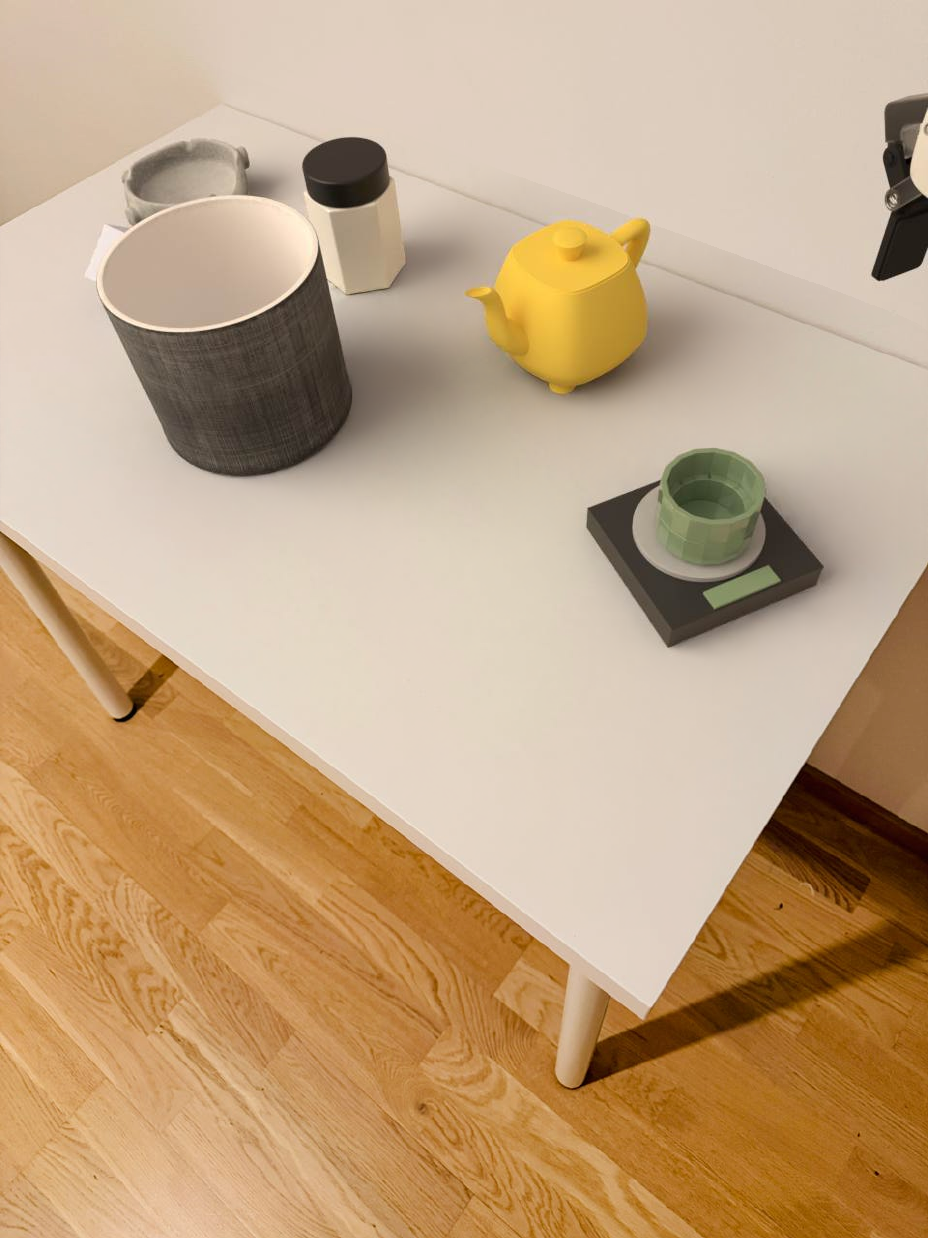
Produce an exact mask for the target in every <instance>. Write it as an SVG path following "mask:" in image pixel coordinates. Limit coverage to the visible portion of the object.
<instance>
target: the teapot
mask: <svg viewBox="0 0 928 1238" xmlns="http://www.w3.org/2000/svg"><path fill="white" fill-rule="evenodd" d="M650 235H651V224H650V222H649V221H648V220H647V219H646V218H643V217H637V218H632V219H631V220H629V221H627V222H626V223H624V224H622V225H621V226H619V227H618V228H617V229H615V230H614V231H613V232H611V234H608V233H606V232H604V231H603V230H601V229H599V228H597V227H595V226H594V225H593V226H592V225H590V224H589V223H585V222H582V221H578V220H572V219H564V220H561V221H557V222H554V223H551V224H549V225H547V226H544V227H542V228H540V229H538V230H536V231H533V233H530V234H529V235H527V236H525V237H524V238H522V239H520V240H519V241H518V242H516V243H515V244H513V246H511V249H510V250H509V251H508V253H507V255H506V258H505V259H504V261H503V264H502V266H501V268H500V270H499V272H498V274H497V277H496V280H495V282H494V286H493V288H492V287H489V286H475V287H472V288H469V289H467V290H466V291H465V292H464V294H465V295H466V297H468V298H471V299H474V300H478V301H480V302H481V304H482V305H483V310H484V317H485V319H484V320H485V326H486V330H487V333H488V335H489V337H490V339H491V341H492V342H493V343H494V344H495V345H496V347H498V348H499V349H500V350H501V351H503V352H505V353H506V354H508V356H509V357H510V358H511V359H512V360H513V361H514V362H515V363H516V364H517V365H518V366H519V367H521V368H522V369H523V370H525V371H526V372H528V373H530V375H533V376H535V377H537V378H538V379H540V380H542V381H545V382H547V383H548V387H549V390H550V391H552V392H553V393H555V394H558V395H566V394H569V393H571V392H573V391H574V390H575V388H576V387H577V386H581V385H584V384H586V383H589V382H592V381H593V380H596V379H598V378H600V377H601V376H603V375H605V374H608V372H610V371H612V370H613V369H615V368H616V367H618V366H619V365H621V364H622V363H623V362H625V361H626V360H627V359H628V358H629V357H630V356H631V355H632V354H633V353H635V352H636V351H637V350H638V348H639V347H640V346H641V344H642V343H643V342H644V340H645V337H646V335H647V330H648V309H647V307H648V306H647V301H646V296H645V292H644V289H643V286H642V283H641V279H640V277H639V275H638V272H637V267H638V266H639V264H640V261H641V259H642V257H643V255H644V253H645V251H646V249H647V245H648V242H649V240H650V239H649V238H650ZM625 245H626V246H625ZM624 246H625V248H624Z"/></svg>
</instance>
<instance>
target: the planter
mask: <svg viewBox="0 0 928 1238" xmlns="http://www.w3.org/2000/svg"><path fill="white" fill-rule="evenodd" d="M129 228H130V229H129V230H128V231H126V232H125V233H124V234H123V235H122V236H120V237H119V238H118V239H117V240H116V241H115V242H114V243H113V245H112V246H111V247H110V248H109V250H108V251H107V252H106V254H105V255H104V257H103V259H102V261H101V263H100V266H99V268H98V272H97V278H96V282H95V283H96V285H95V286H96V291H97V295H98V297H99V299H100V301H101V303H102V306H103V308H104V310H105V312H106V314H107V317H108V319H109V320H110V322H111V324H112V327H113V329H114V331H115V332H116V333H115V334H116V335H117V337H118V339H119V341H120V343H121V345H122V347H123V349H124V352H125V353H126V356H127V358H128V360H129V361H130V364H131V365H132V368H133V370H134V372H135V374H136V376H137V378H138V380H139V382H140V385H141V387H142V389H143V390H144V393H145V394H146V396H147V398H148V401H149V403H150V404H151V406H152V409H153V410H154V413H155V414H156V417H157V420H158V421H159V423H160V425H161V428H162V430H163V433H164V435H165V437H166V440H167V442H168V443H169V445H170V447H171V449H173V450H174V451H175V453H176V454H177V455H178V456H179V457H180V458H182V459H183V460H184V461H185V462H187V463H189V464H191V465H193V466H194V467H196V468H198V469H201V470H203V471H206V472H211V473H213V474H219V475H226V476H251V475H260V474H261V475H262V474H264V473H270V472H274V471H275V472H276V471H278V470H281V469H284V468H288V467H290V466H292V465H295V464H296V463H299V462H301V461H303V460H305V459H307V458H309V457H310V456H312V455H314V454H315V453H316V452H318V451H319V450H320V449H322V448H323V447H324V446H326V445H327V444H328V443H329V442H330V441H331V440H332V439H333V438H334V437H335V436H336V435H337V433H338V432H339V431H340V429H342V427H343V425H344V423H345V421H346V420H347V418H348V415H349V413H350V411H351V406H352V400H353V389H352V384H351V380H350V375H349V373H348V369H347V365H346V360H345V355H344V352H343V347H342V341H341V337H340V333H339V328H338V324H337V318H336V314H335V309H334V305H333V300H332V295H331V291H330V287H329V280H327V277H326V272H325V268H324V263H323V258H322V254H321V249H320V245H319V240H318V236H317V233H316V231H315V229H314V227H313V225H312V224H311V223H310V220H309V218H307V217H306V216H305V215H304V214H303V213H301V211H299V210H297V209H295V208H294V207H292V206H290V205H288V204H286V203H284V202H281V201H278V200H275V199H271V198H267V197H262V196H256V195H248V196H246V195H226V196H214V197H207V198H202V199H197V200H192V201H188V202H185V203H181V204H178V205H175V206H172V207H170V208H167V209H164V210H162V211H160V212H158V213H155V214H153V215H151V216H149V217H148V218H146V219H144V220H142V221H141V222H139V223H137V224H136V225H134V226H133V227H132V226H131V227H129Z"/></svg>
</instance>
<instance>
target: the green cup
mask: <svg viewBox="0 0 928 1238" xmlns="http://www.w3.org/2000/svg"><path fill="white" fill-rule="evenodd" d="M764 479H765V478H764V476H763V474H762V472H761V471H760V470H759V469H758V468H757V467H756V465H755V464H754V463H753V462H752V461H751V460H749V459H748V458H746V457H744V456H742V455H740V454H738V453H737V452H735V451H731V450H727V449H722V448H718V447H705V448H694V449H691V450H689V451H685V452H683V453H680V454H678V455H676V456H675V457H674V458H673V459H672V460H671V461H669V463H668V464H666V465H665V467H664V470H663V473H662V475H661V478H660V480H661V481H660V487H659V494H658V500H657V506H656V512H655V518H654V525H655V531H656V536H657V537H658V539H659V540H660V542H661V543H662V544H663V546H664V547H665V548H666V549H667V550H668V551H669V552H671V553H672V554H674V555H676V556H677V557H679V558H680V559H682V560H685V561H689V562H693V563H696V564H700V565H701V564H702V565H708V564H721V563H724V562H727V561H729V560H731V559H734V558H736V557H738V556H739V555H740V554H741V553H742V552H743V551H744V550H745V549H746V548H747V547H748V546H749V545H750V542H751V539H752V536H753V533H754V529H755V526H756V523H757V520H758V517H759V513H760V510H761V507H762V504H763V500H764V497H765V496H766V492H767V487H766V484H765V480H764Z"/></svg>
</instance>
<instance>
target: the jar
mask: <svg viewBox="0 0 928 1238" xmlns="http://www.w3.org/2000/svg"><path fill="white" fill-rule="evenodd" d="M388 164H389V163H388V157H387V153H386V150H385V149H384V147H383V146H382V145H381V144H380V143H378V142H377V141H374V140H372V139H369V138H365V137H358V136H346V137H345V136H344V137H337V138H334V139H330V140H327V141H324V142H322V143H320V144H318V145H316V146H314V147H313V148H312V149H310V150H309V151H308V152H307V153H306V154H305V156H304V157H303V159H302V164H301V169H302V173H303V178H304V183H305V186H306V187H305V188H306V189H305V190H304V191H303V198H304V202H305V206H306V211H307V216H308V220H309V221H310V223H311V224H312V225H313V227H314V229H315V231H316V233H317V236H318V240H319V245H320V249H321V254H322V258H323V263H324V268H325V272H326V277H327V281H328V282H330V283H331V284H332V285H333V286H335V287H336V288H337V289H338V290H340V291H341V292H342V293H344V294H345V295H352V294H358V293H359V294H360V293H365V292H371V291H379V290H384V289H389V288H390V287H391V285H392V284H393V283H394V281H395V279H396V278H397V276H398V275H399V273H400V272H401V271H402V269H403V267H404V265H405V264H406V261H407V260H406V253H405V245H404V239H403V232H402V231H403V230H402V223H401V217H400V210H399V201H398V195H397V187H396V180H395V178H394V177H393V176H391V175H390V171H389V165H388Z"/></svg>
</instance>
